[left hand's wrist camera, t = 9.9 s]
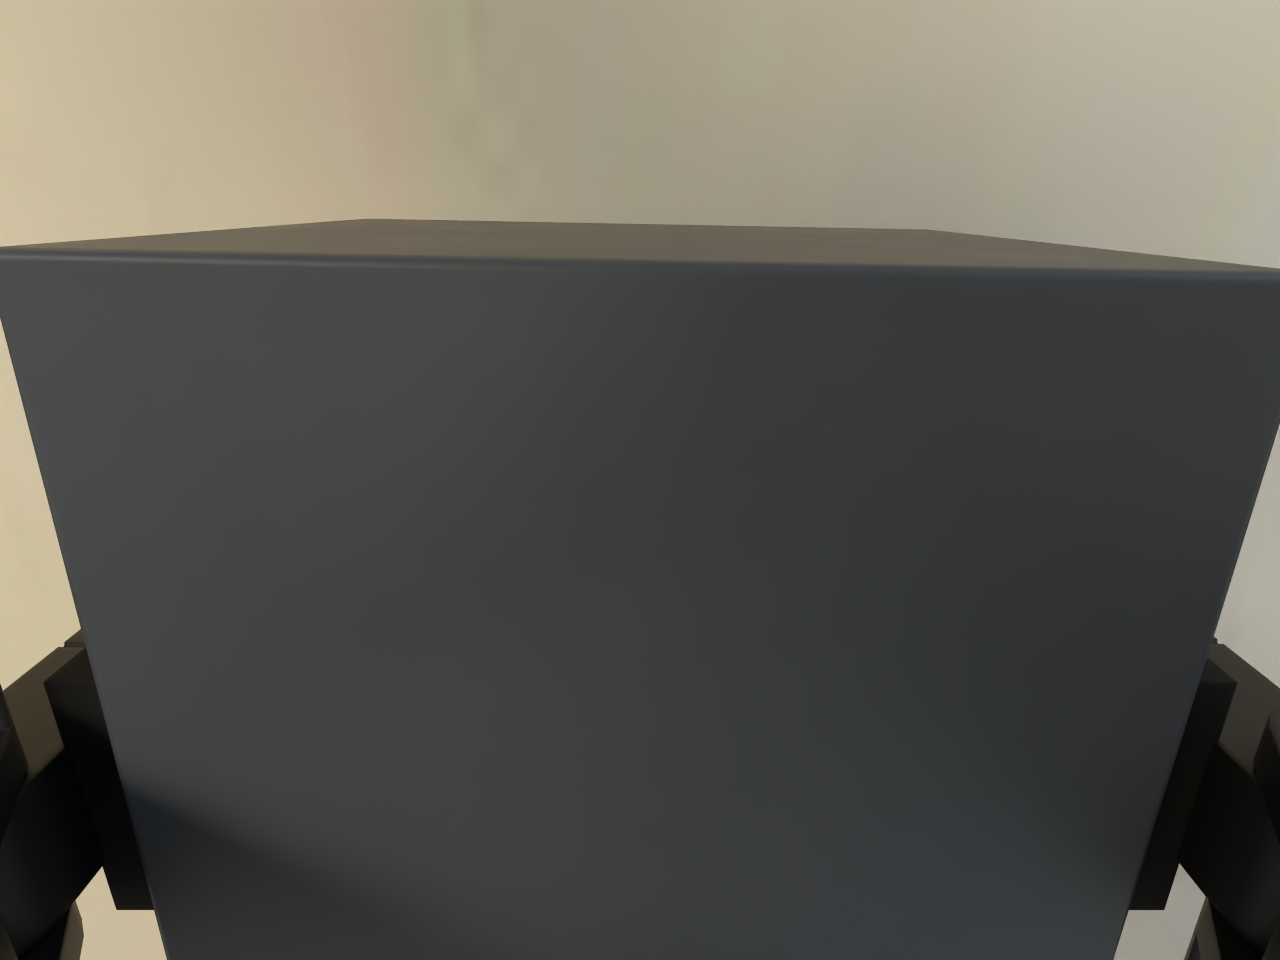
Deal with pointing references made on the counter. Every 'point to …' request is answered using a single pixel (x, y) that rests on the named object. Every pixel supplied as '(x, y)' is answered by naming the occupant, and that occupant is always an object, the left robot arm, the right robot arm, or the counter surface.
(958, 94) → the counter surface
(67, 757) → the left robot arm
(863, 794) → the long dark grey beam
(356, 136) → the counter surface
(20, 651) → the counter surface
